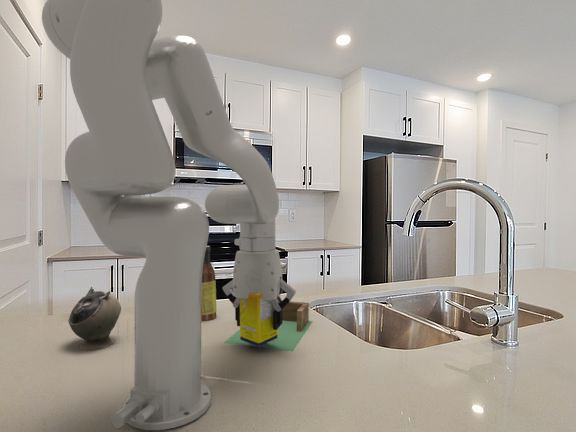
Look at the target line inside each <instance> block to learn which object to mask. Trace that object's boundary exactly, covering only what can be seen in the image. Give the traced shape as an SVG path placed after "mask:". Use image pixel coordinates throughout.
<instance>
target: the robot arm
mask: <svg viewBox="0 0 576 432" xmlns="http://www.w3.org/2000/svg"><path fill="white" fill-rule="evenodd" d="M41 11H42V12H41V13H42V14H41V22H42V26H43V29H44V32H45V33H46V36H47V38H48V40H49V41H50V42H51V43H52V45H54V47H55V48H56V49H57V51H59V52H60V53H61V54H62V55H64V56H65V57H66V58H68V59H69V62H70V63H69V76H70V83H71V87H72V91H73V95H74V98H75V100H76V103H77V106H78V107H79V110H80V111H81V112H80V113H81V115H82V118H83V119H84V122H85V124H86V127H87V129H88V131H87V132H84V133H82V134H79V135H77V137H75V138H74V139H73V140H72V141H71V143H70V144H69V145H68V147H67V148H66V152H65V156H64V168H65V174H66V178H67V181H68V183H69V185H70V187H71V190H72V191H73V193H74V195H75V197H76V199H77V202H79V205H80V206H81V208H82V210H83V212H84V214H85V216H86V217H87V219H88V221H89V223H90V224H91V226H92V228H93V230H94V232H95V234H96V235H97V237H98V238H99V240H100V242H102V244H103V245H104V246H105V247H106V248H107V249H108V250H109V251H111V252H112V253H114V254H116V255H119V256H123V257H128V258H129V257H131V258H137V259H138V258H139V259H145V263H144V265H143V268H142V269H141V271H140V274H139V276H138V279H137V280H136V284H135V291H134V370H133V371H134V373H133V375H134V380H133V381H134V386H133V387H132V388H130V394H129V396H128V397H127V398H126V399H125V401H124V402H123V405H122V407H120V408H119V409H118V410H116V411H115V412H114V413H113V414H111V416H110V422H111V425H112V426H113V427H114V428H116V429H120V428H122V427H123V426H124V425H126V424H128V425H129V426H131V427H133V428H135V429H140V430H145V431H163V430H165V431H166V430H169V429H170V430H171V429H174V428H178V427H181V426H185V425H187V424H189V423H191V422H193V421H195V420H196V419H198V418H200V417H201V416H202V415H204V414H205V412H206V411H207V410H208V409H209V408H210V405H211V402H212V392H211V390H210V387H209V386H207V384H205V383H204V382H202V321H201V308H202V302H201V293H202V270H203V261H204V256H205V251H206V246H208V241H209V235H210V233H209V232H210V223H209V218H210V219H211V220H213V221H214V222H217V223H220V224H227V225H229V224H230V225H231V224H233V225H239V237H238V238H235V239H234V245H235V246H239V250H237V251H236V253H235V256H234V263H233V273H232V280H231V281H229V282H227V283H226V284H225V285H224V286H222V290H223V293H224V294H225V295H226V296H227V299H228V301H230V303H231V304H232V307H233V308H234V310H235V312H234V313H235V315H234V316H235V318H234V320H235V321H236V326H237V327H240V299H248V297H249V293H260V294H262V298H263V300H264V301H271V302H272V304H273V306H274V308H275V310H274V311H273V329H274V330H277V329H278V328H279V327H280V325H282V322H283V308H284V307H285V306H286V305H287V304H288V303H289V302H290V301H291V300H292V299H293V297H294V296H295V295H296V293H297V291H296V290H295V288H293V287H292V286H290V285H289V284H288V283H287V282H286V281H285V280H283V272H282V271H283V270H282V263H281V258H280V253H279V251H278V250H276V218H277V216H278V213H279V209H280V199H279V198H280V197H279V193H278V190H277V186H276V182H275V179H274V176H273V172H272V170H271V168H270V165H269V164H268V162H267V161H266V159H265V158H264V157H263V155H262V154H261V153H260V152H259V151H258V150H257V148H256V147H255V146H254V145H253V144H252V143H250V142H249V141H248V140H247V139H246V138H245V137H243V135H241V134H239V133H238V132H237V130H235V129H234V127H233V126H232V124H231V122H230V119H229V115H228V112H227V110H226V108H225V104H224V102H223V99H222V97H221V94H220V90H219V88H218V85H217V82H216V79H215V75H214V74H213V70H212V68H211V65H210V63H209V62H210V61H209V60H208V57H207V55H206V52H205V50H204V47H203V46H202V45H201V44H200V42H198V40H196V39H195V38H193V37H191V36H187V35H182V34H181V35H180V34H179V35H177V34H176V35H168V36H165V37H160V38H157V39H155V38H156V36H157V35H158V32H159V30H160V27H161V24H162V20H163V4H162V0H46V2H45V3H44V5H43V7H42V10H41ZM160 99H164V100H165V102H166V105H167V107H168V108H169V111H170V113H171V115H172V118H173V120H174V122H175V125H176V126H177V129H178V132H179V134H180V136H181V139H182V141H183V142H184V144H185V146H187V148H189V149H190V150H192V151H194V152H196V153H198V154H200V155H202V156H205V157H206V158H209V159H212V160H213V161H217V162H219V163H220V164H223V165H225V166H226V167H228V168H229V169H231V170H232V171H234V172H235V173H236V174H237V175H238V176H239V178H241V179H242V181H243V183H244V184H229V185H228V184H227V185H225V184H224V185H220V186H216V187H215V188H213V189H211V190H210V191H209V192H208V194H207V195H206V197H205V200H204V208H205V210H204V209H203V207H201V206H200V204H198V203H196V202H195V201H194V200H191V199H189V198H184V197H181V196H148V197H147V196H146V197H145V195H152V194H157V193H161V192H162V191H165V190H166V189H168V188H169V187H170V186H171V185H172V184H173V182H174V181H175V179H176V171H177V170H176V163H175V160H174V155H173V152H172V149H171V147H170V143H169V142H168V139H167V138H168V137H166V134H165V131H164V129H163V126H162V123H161V119H160V118H159V115H158V113H157V110H156V107H155V105H154V102H153V101H154V100H160ZM208 216H209V218H208ZM283 291H284V292H285V293H286V295H285V297H284V298H283V299H282V297H281V295H283Z"/></svg>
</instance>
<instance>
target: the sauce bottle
mask: <svg viewBox="0 0 576 432" xmlns="http://www.w3.org/2000/svg"><path fill="white" fill-rule="evenodd" d="M211 250H212V249H211V245H207V246H206V251H205V256H204V261H203V270H202V293H201V302H202V308H201V322H206V321H212V320H215V319H216V317H217V288H216V287H217V286H216V283H217V282H216V274H215V273H216V272H215V270H214V268H213V266H212V263H211Z"/></svg>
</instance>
